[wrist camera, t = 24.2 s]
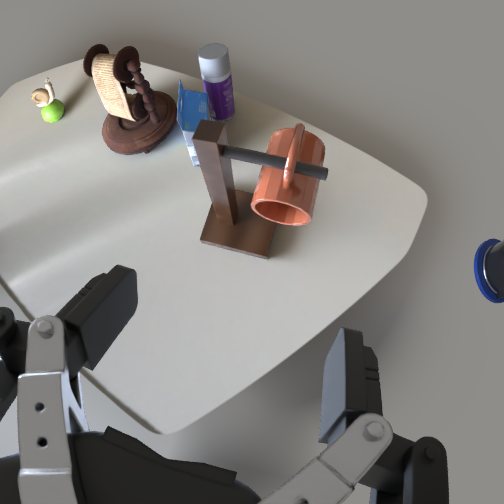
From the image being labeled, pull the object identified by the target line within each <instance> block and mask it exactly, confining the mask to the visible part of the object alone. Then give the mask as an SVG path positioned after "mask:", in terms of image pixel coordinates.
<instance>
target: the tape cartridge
mask: <svg viewBox="0 0 504 504" xmlns="http://www.w3.org/2000/svg"><path fill="white" fill-rule="evenodd" d="M181 99H182V103H181V104H180V101H181ZM200 119H204V120H211V121H212V115H211V110H210V105H209V100H208V95H207V93H203V92H196V91H189V90H184V89H183V86H182V83H181V80H179V93H178V107H177V121H178V123H179V125H180V127H181V129H182V132H183V134H184V138H185V141H186V144H187V147H188V150H189V153H190V156H191V159H192V162H193V166H199V165H200V163H199V160H198V157H197V154H196V151H195V148H194V144H193V141H192V137H193V135H194V132H195V130H196V128H197V126H198V124H199V122H200Z"/></svg>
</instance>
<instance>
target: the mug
mask: <svg viewBox="0 0 504 504" xmlns="http://www.w3.org/2000/svg"><path fill="white" fill-rule="evenodd" d="M304 129H305V127H304V125H303V124H301V123H299V124H297V125H296V126H295V128H285V129H280V130H278V131H276V132H275V133H274V134H273V135H272V137H271V139H270V142H269V145H268V148H267V152H266V153H267V154H272V155H276V156H281V157H285V158H287V161H286V165H285V169H284V170H281V169H277V168H272V167H268V166H264V165H262V168H261V172H260V175H259V179H258V182H257V185H256V189H255V192H254V196H253V199H252V202H251V208H252V209H253V210H254V212H255V213H257V214H258V215H260V216H262V217H263V218H265V219H268V220H271V221H273V222H277V223H281V224H285V225H293V226H298V225H305V224H308V223H310V221H311V219H312V214H313V210H314V205H315V200H316V196H317V191H318V186H319V181H320V179H317V178H313V177H309V176H305V175H301V174H297V173H294V171H295V166H296V162H297V161H301V162H305V163H309V164H313V165H317V166H321V167H322V166H323V161H324V156H325V146H324V143H323V142H322V141H321V140H320V139H319V138H318V137H317V136H315V135H314V134H312V133H310V132H308V131H305V130H304Z"/></svg>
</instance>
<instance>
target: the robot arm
mask: <svg viewBox="0 0 504 504" xmlns="http://www.w3.org/2000/svg"><path fill="white" fill-rule="evenodd" d="M482 272H483V276H484V280H485V282H486V284H487V286H488V287H489V289H490V290H491V291H492V292H493V293H495V295H496V298H497V299H500V298H503V297H504V240H503V241H501V242H499V243H496V244H495V245H492V246H490V247H489V248H487V250H486V251H485V253H484V255H483V259H482ZM137 304H138V294H137V274H136V271H135V270H134V269H131V268H128V267H124V266H121V265H116V266H115V267H114V268H113V269H111V270H110V271H109V272H108V273H107V274H105V273H102V274H100V275H98V276H96V277H94V278H92V279H91V280H90V281H89V282H88V283H87V284H86V285H85V287H84V288H82V289H81V290H80V291H79V292H78V294H76V295H75V296H74V297H73V298H72V299H71V300H70V301H69V302H68V303H67V304H66V305H65V306H64V307H63V308H62V309H61V310H60V311H59V312H58V313H57V314H56V315H55V316H50V315H47V316H42V317H39V318H37V319H36V320H34V321H33V322H32V323H30V322H24V321H19V320H16V319H15V316H14V313H13V312H12V310H11V309H9V308H6V307H0V358H1V361H0V421H1V420H2V418H3V416H4V415H5V413H6V412H7V410H8V409H9V407H10V406H11V403H13V401H14V399H15V398H16V396H17V397H18V398H17V400H18V401H17V412H18V413H17V416H18V418H17V419H18V440H19V441H18V442H19V453H16V454H13V455H10V456H6V457H3V458H0V504H342V503H343V502H344V501H345V500H346V498H348V496H349V495H350V494H351V493H352V492H353V491H354V489H355V488H354V486H355V485H356V484H357V483H360V484H363V485H366V486H368V487H371V493H370V502H369V504H449V488H448V487H449V486H448V468H447V456H446V450H445V448H444V446H443V445H442V443H441V442H440V441H438V440H437V439H435V438H433V437H422V438H420V439H419V440H418V441H416V442H413V441H411V440H408V439H406V438H403V437H401V436H398V435H396V434H395V433H393V431H392V427H391V425H390V424H389V422H388V421H387V420H386V419H385V418H384V417H383V414H382V400H381V389H380V382H379V373H378V361H377V357H376V356H375V354H374V352H373V350H372V349H371V347H366V346H363V336H362V332H361V331H357V330H353V329H348V328H344V327H342V328H341V329H340V331H339V333H338V335H337V337H336V339H335V341H334V343H333V345H332V348H331V350H330V352H329V353H328V356H327V358H326V362H325V366H324V378H323V394H322V408H321V420H320V432H319V442H320V443H326V444H328V446H327V448H326V449H325V450H324V451H323V452H322V453H321V454H320V455H319V456H317V457H315V458H314V459H313V460H312V461H310V462H309V463H308V464H307V465H306V466H305V467H303V468H302V469H301V470H300V471H299V472H298V473H296V474H295V475H294V476H293V477H291V478H290V479H289V480H288V481H286V482H285V483H284V484H283V485H281V486H280V487H279V488H277V489H276V490H275V491H274V492H273V493H271V494H270V495H268V496H267V497H266V498H264V499H263V500H262V499H261V498H260V497H259V496H258V495H257V494H256V493H255V492H254V491H253V490H252V489H251V488H249V487H248V486H246V485H245V484H243V483H242V482H240V481H238V480H236V479H235V478H236V474H237V472H235V471H231V470H227V469H223V468H219V467H216V466H212V465H209V464H206V463H199V462H188V461H179V460H170V459H166V458H164V457H162V456H161V455H159V454H158V453H156V452H155V451H153V450H152V449H151V448H149V447H148V446H146V445H145V444H143V443H142V442H141V441H139V440H138V439H136V438H134V437H131V436H129V435H127V434H125V433H122V432H120V431H118V430H116V429H114V428H112V427H110V426H108V427H107V428H106V430H105V432H97V431H90V429H89V426H88V423H87V420H86V416H85V411H84V405H83V397H82V390H81V381H80V373H79V371H80V369H81V368H82V367H83V366H84V367H86V368H88V369H90V370H92V371H93V369H94V368H95V367H96V365H97V364H98V362H99V361H100V360H101V358H102V357H103V355H104V354H105V353H106V351H107V350H108V349H109V347H110V346H111V344H112V343H113V342H114V340H115V339H116V338H117V336H118V335H119V334H120V332H121V331H122V329H123V328H124V327H125V325H126V324H127V323H128V321H129V320H130V319H131V317H132V316H133V315H134V313H135V311H136V308H137Z"/></svg>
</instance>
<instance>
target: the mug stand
mask: <svg viewBox="0 0 504 504" xmlns="http://www.w3.org/2000/svg"><path fill="white" fill-rule="evenodd" d="M192 141H193V144H194V148H195V151H196V154H197V157H198V160H199V163H200V167H201V170H202V173H203V176H204V179H205V182H206V185H207V189H208V192H209V195H210V198H211V201H212V205H211V208H210V210H209V213H208V216H207V219H206V222H205V225H204V228H203V231H202V234H201V237H200V241H201V242H202V243H205V244H209V245H213V246H217V247H221V248H225V249H228V250H232V251H236V252H240V253H244V254H248V255H252V256H255V257H259V258H263V259H267V256H268V252H269V249H270V245H271V241H272V237H273V234H274V230H275V226H276V222H273V221H271V220H268V219H265V218H263V217H262V216H260V215H258V214H257V213H255V212H254V210H253V209H252V208H251V202H252V199H253V196H254V194H252V193H248V192H244V191H239V190H235V187H234V180H233V174H232V167H231V160H230V158H231V159H236V160H241V161H245V162H250V163H255V164H259V165H264V166H268V167H272V168H277V169H281V170H284V169H285V165H286V161H287V158H285V157H281V156H276V155H272V154H267V153H263V152H258V151H253V150H249V149H244V148H239V147H234V146H228V140H227V133H226V126H225V123H223V122H217V121H211V120H204V119H200V122H199V124H198V126H197V128H196V130H195V132H194V135H193V137H192ZM294 173H297V174H301V175H305V176H309V177H313V178H317V179H321V180H326V178H327V175H328V168H325V167H321V166H317V165H313V164H309V163H305V162H301V161H297V162H296V166H295V171H294Z"/></svg>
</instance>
